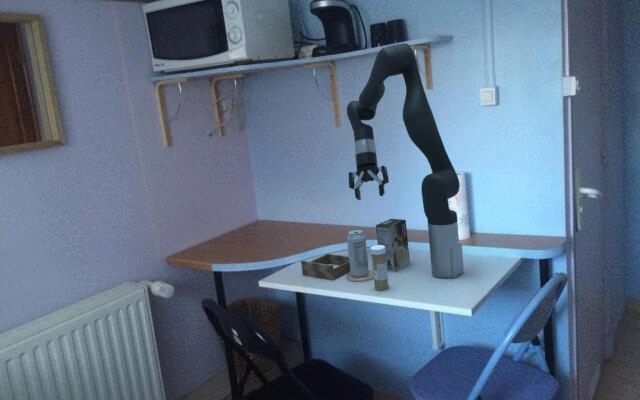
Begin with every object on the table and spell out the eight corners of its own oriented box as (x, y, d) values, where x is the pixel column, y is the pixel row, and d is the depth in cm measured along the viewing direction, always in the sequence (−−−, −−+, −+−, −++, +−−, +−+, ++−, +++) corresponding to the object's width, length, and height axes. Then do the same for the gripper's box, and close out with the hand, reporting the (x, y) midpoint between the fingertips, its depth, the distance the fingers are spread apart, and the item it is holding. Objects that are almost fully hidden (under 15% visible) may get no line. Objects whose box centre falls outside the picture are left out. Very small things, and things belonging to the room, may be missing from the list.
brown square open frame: (358, 267, 195) (357, 253, 194) (333, 280, 185) (331, 266, 184) (328, 262, 204) (327, 249, 203) (302, 274, 194) (301, 261, 193)
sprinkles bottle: (373, 286, 175) (368, 245, 172) (387, 284, 175) (383, 243, 172) (376, 291, 170) (371, 249, 168) (390, 289, 171) (386, 247, 168)
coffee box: (395, 262, 196) (391, 218, 193) (410, 264, 191) (406, 219, 188) (379, 270, 189) (375, 224, 186) (395, 272, 185) (390, 226, 182)
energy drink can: (364, 271, 188) (359, 228, 185) (372, 275, 183) (367, 232, 180) (348, 274, 186) (343, 231, 183) (355, 279, 181) (350, 235, 178)
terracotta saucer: (382, 273, 186) (382, 271, 185) (364, 283, 178) (364, 281, 178) (358, 269, 192) (358, 268, 192) (340, 279, 185) (340, 277, 185)
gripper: (343, 155, 199) (347, 199, 196) (380, 147, 193) (385, 192, 190) (351, 159, 206) (355, 202, 202) (387, 152, 200) (392, 196, 197)
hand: (370, 197), depth 196 cm, fingers open, 8 cm apart
